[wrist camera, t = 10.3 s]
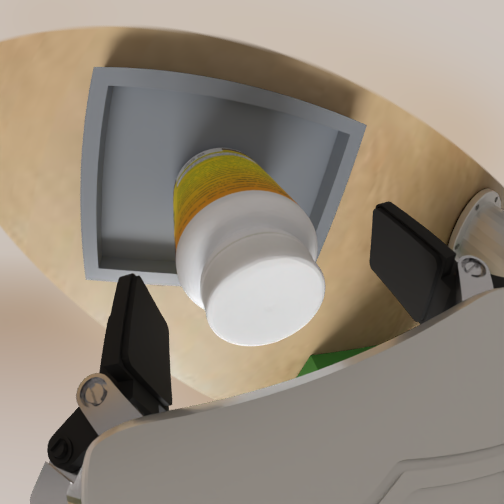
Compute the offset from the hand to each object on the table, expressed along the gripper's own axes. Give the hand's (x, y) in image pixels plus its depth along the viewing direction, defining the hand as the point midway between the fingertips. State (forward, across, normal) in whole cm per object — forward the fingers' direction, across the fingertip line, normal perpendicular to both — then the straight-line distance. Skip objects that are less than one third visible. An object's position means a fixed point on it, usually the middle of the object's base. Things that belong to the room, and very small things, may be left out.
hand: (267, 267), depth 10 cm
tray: (+9, +1, 0) cm, 9 cm away
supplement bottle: (+8, +1, 0) cm, 8 cm away
